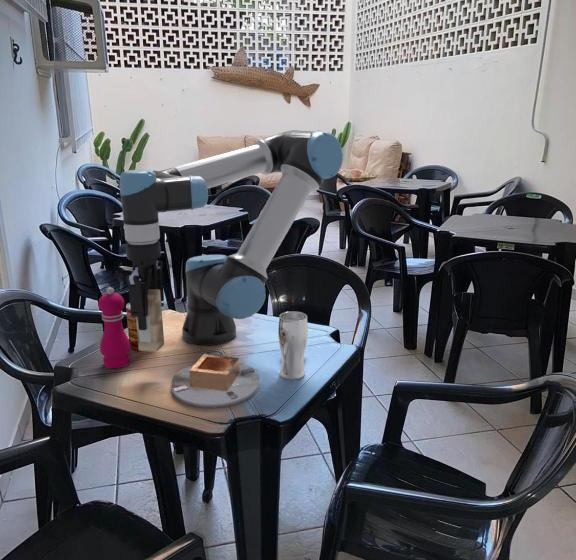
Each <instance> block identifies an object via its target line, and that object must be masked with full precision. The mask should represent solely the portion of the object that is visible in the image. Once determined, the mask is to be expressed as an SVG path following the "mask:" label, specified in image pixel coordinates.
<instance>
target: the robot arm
mask: <svg viewBox="0 0 576 560" xmlns="http://www.w3.org/2000/svg"><path fill="white" fill-rule="evenodd" d="M342 150H343V148H342V145H341V143H340V141H339V140H338V138H337V137H336V136H335V135H334V134H332V133H330V132H327V131H322V130H314V131H311V130H296V129H294V130H293V129H292V130H287V131H283V132H281V133H277V134H274V135H271V136H268V137H265V138H261V139H257V140H255V141H254V142H253V144H252V145H250V146H245V147H243V148H239V149H236V150H232V151H229V152H225V153H220V154H218V155H213V156H209V157H206V158H203V159H202V158H201V159H199V160H196V161H192V162H189V163H185V164H181V165H176V166H174V167H170V168H166V169H162V170H150V169H130V170H125V171H122V172H121V173H120V176H119V190H120V191H119V195H120V199H121V208H122V217H123V218H122V219H123V229H124V238H125V239H124V240H125V241H126V243H125V253H126V254H125V255H126V258H127V259H128V260H129V261H131V262H132V269H131V271H132V272H131V274H129V275H128V274H126V276H125V279H126V280H125V281H126V283H127V287H128V297H129V303H130V308H131V316H134V317H137V318H138V327H139V338H140V342H149V343H151V342H152V336H151V324H150V315H148V289H154V290H156V289H159V290H160V294H161V307H164V305H165V303H164V300H165V291H164V279H163V267H164V266H163V265H164V264H163V263H164V262H163V261H162V260H157V259H160V258H161V256H162V251H161V241H160V238H161V232H160V223H159V213H166V212H168V213H169V212H175V211H186V210H187V211H188V210H191V211H193V210H195V209H201V208H203V207H205V206H206V205H207V202H208V200H209V189H211V188H215V187H218V186H221V185H225V184H228V183H231V182H234V181H237V180H241V179H244V178H247V177H251V176H254V175H257V174H262V175H265V176H266V175H270V174H274V173H275V174H276V173H281V177H280V179H279V180H278V182H277V184H276V186H275V187H274V189H273V191H272V193H271V195H270V196H269V198H268V199H267V201H266V203H265V205H264V206H263V208H262V209H261V211H260V213H259V215H258V217H257V218H256V220H255V222H254V224H253V225H252V227H251V228H250V230H249V232H248V233H247V235H246V237H245V239H244V240H243V242H242V243H241V246H240V248H239V249H238V251H237V252H236V253H233V254H230V255H228V256H227V255H225V254H205V255H197V256H193V257H190V258H188V259H187V261H186V263H185V270H184V271H185V282H186V283H185V284H186V300H187V301H186V302H187V303H186V304H187V312H186V315H185V319H184V322H183V326H182V328H181V329H182V338H183V341H186V342H188V343H191V344H194V345H199V346H213V345H220V344H224V343H227V342H229V341H231V340H233V339H234V338H235V337H236V336H237V325H236V323H235V320H234V319H236V320H245V319H247V318H251V317H252V316H255V314H256V313H258V312H259V311H260V310H261V308H262V306H264V303H265V300H266V295H267V294H266V287H265V285H266V284H265V283H266V282H267V281H268V274H267V269H268V267H269V265H270V263H271V261H272V260H273V258H274V256H275V255H276V253H277V252H278V249H279V247H280V246H281V244H282V242H283V240H284V239H285V237H286V235H287V234H288V232H289V230H290V229H291V227H292V225H293V223H294V221H295V219H296V218H297V216H298V215H299V212H301V209H302V207H303V206H304V204H305V202H306V200H307V198H308V197H309V195H310V193H312V192H316V191H318V190H320V187H321V185H322V184H323V183H324V180H329V179H331V178H333V177H335V176H336V175H337V174H338V173H339V171H341V167H342V165H343V161H344V159H343V158H344V154H343V152H342Z"/></svg>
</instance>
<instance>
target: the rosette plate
mask: <svg viewBox="0 0 576 560" xmlns="http://www.w3.org/2000/svg"><path fill="white" fill-rule="evenodd" d="M170 384H171V385H170V387H171V394H172V395H173V397H174V398H175V399H176V400H177V401H179V402H180V403H182V404H185V405H187V406H190V407H194V408H198V409H199V408H201V409H222V408H228V407H232V406H236V405H239V404H241V403H244V402H246V401H247V400H249V399H251V398H253V396H254V395H255V394H256V393H257V392H258V390H259V388H260V387H259V386H260V377H259V374H258V373H257V371H256V369H254V368H253V367H250V366H249V365H246V364H244V363H240V357H234V356H226V355H225V356H224V355H217V354H216V355H215V354H207V353H203V354H202V356H201V357H200V358H199V359H198V360H197V361H196V362H195V364H194V363H193V364H191V365H189V366H186V367H183V368H182V369H181V370H179V371H177V372H176V374H174V375H173V377H172V378H171V382H170Z"/></svg>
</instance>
